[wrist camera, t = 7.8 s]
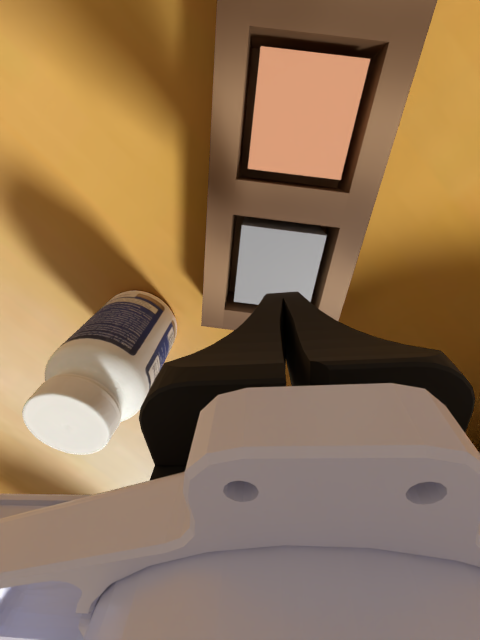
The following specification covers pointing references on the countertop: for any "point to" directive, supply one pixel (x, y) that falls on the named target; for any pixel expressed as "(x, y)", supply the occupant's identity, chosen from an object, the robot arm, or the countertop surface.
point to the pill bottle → (101, 374)
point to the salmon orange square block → (305, 111)
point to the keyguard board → (289, 189)
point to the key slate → (277, 259)
